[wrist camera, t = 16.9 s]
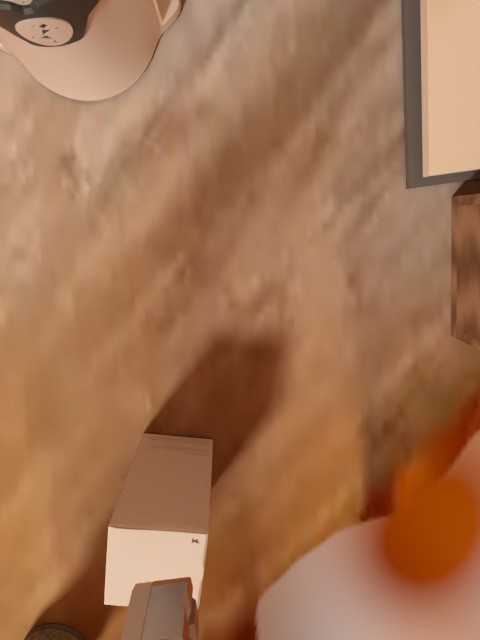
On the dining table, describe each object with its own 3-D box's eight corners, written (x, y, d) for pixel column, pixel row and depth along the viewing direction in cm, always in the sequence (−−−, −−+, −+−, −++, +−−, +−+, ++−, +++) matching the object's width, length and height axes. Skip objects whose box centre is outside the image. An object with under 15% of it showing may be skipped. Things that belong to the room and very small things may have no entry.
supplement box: (141, 430, 47) (105, 523, 32) (214, 437, 47) (211, 532, 33) (136, 493, 49) (100, 608, 34) (206, 499, 50) (199, 613, 35)
